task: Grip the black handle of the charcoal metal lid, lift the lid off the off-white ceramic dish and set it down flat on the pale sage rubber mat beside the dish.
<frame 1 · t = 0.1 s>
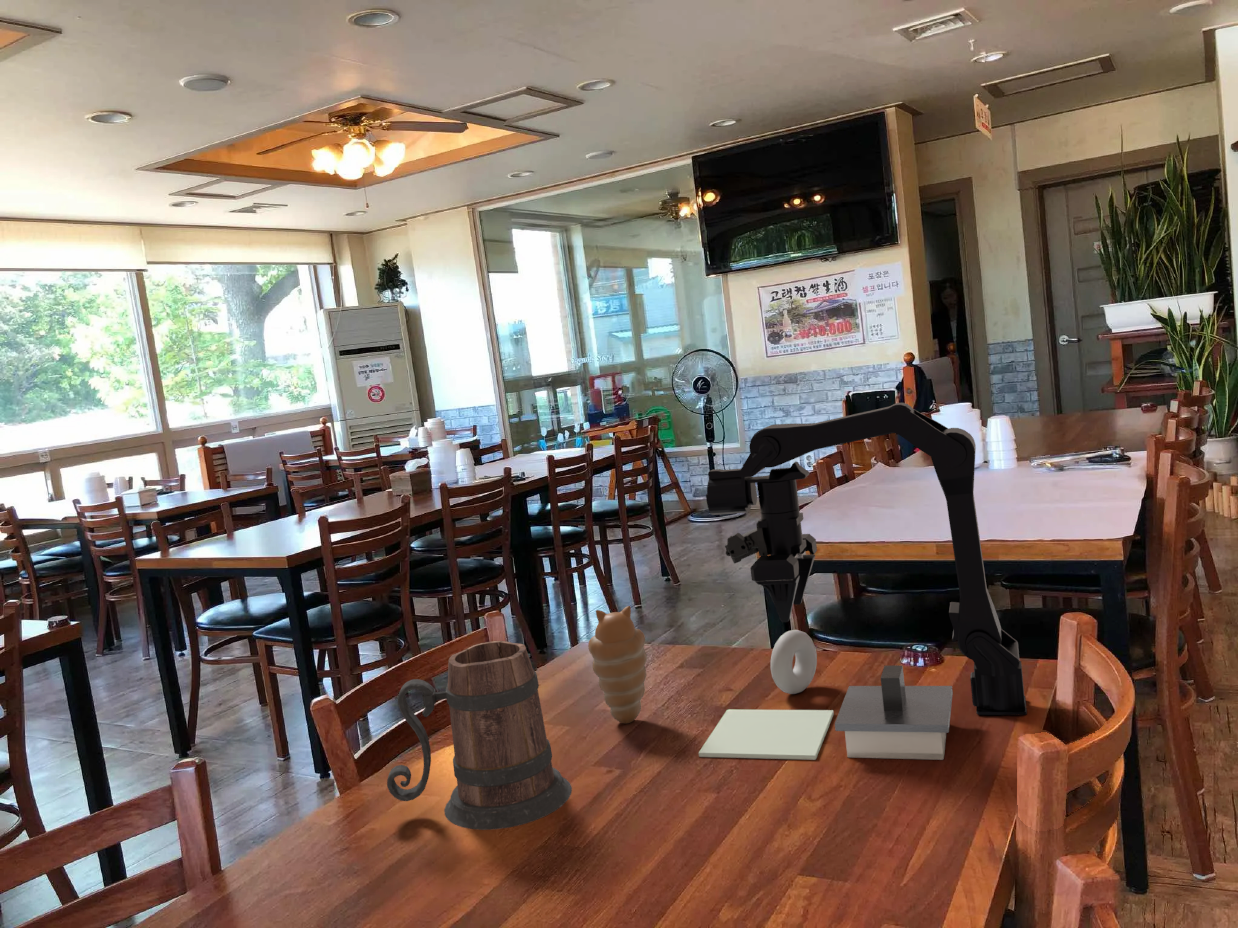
hand: (791, 612, 148), 15 cm above the table, tool pointing down, fingers open, 9 cm apart
dish: (898, 739, 133), on the table
lid: (895, 711, 132), point 4 cm above the table, touching dish
tankard: (483, 804, 130), on the table
mat: (768, 734, 140), on the table
cat ice cream: (627, 723, 152), on the table
donut: (797, 693, 156), on the table
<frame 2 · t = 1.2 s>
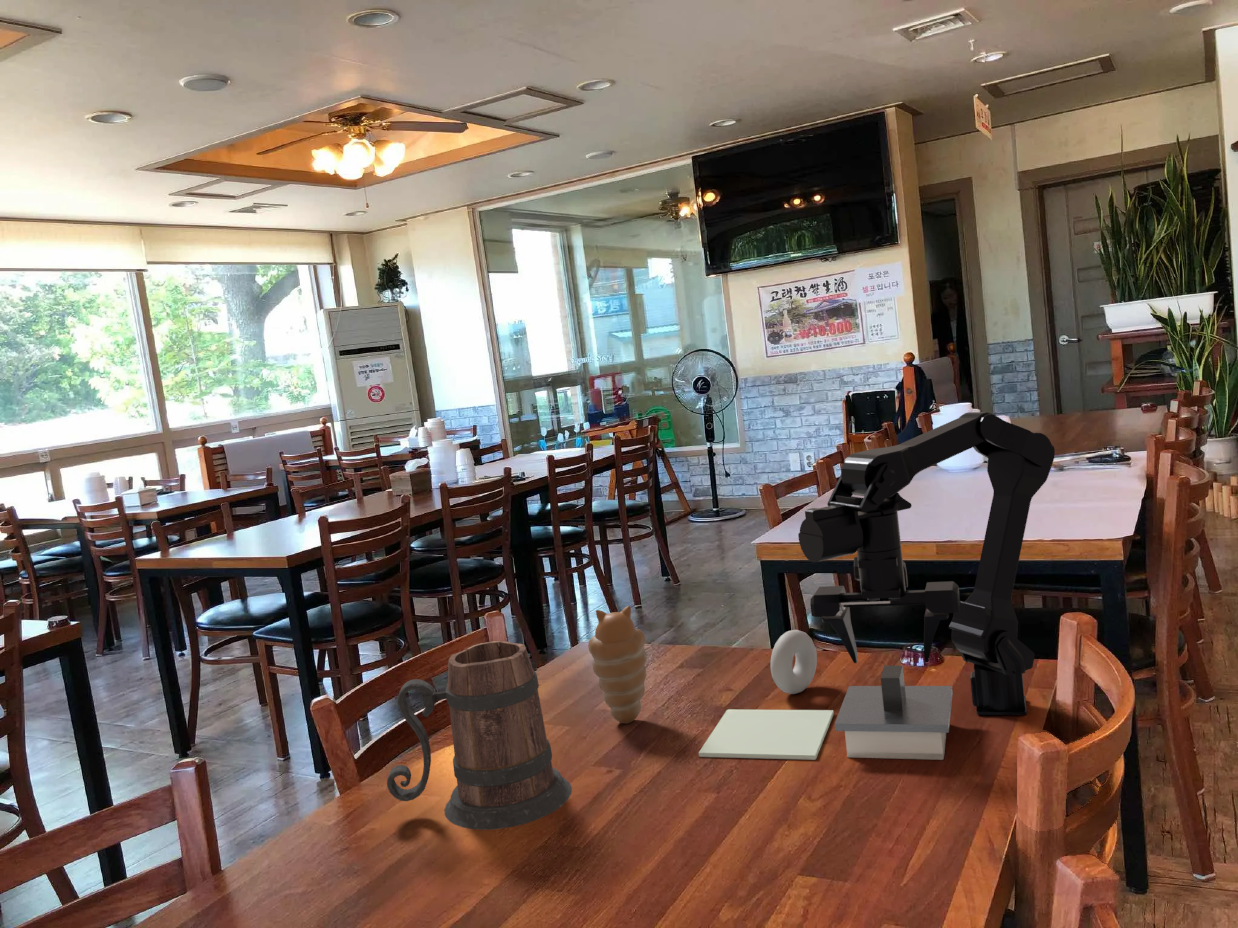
hand: (890, 661, 132), 11 cm above the table, tool pointing down, fingers open, 9 cm apart
nothing on the table moved.
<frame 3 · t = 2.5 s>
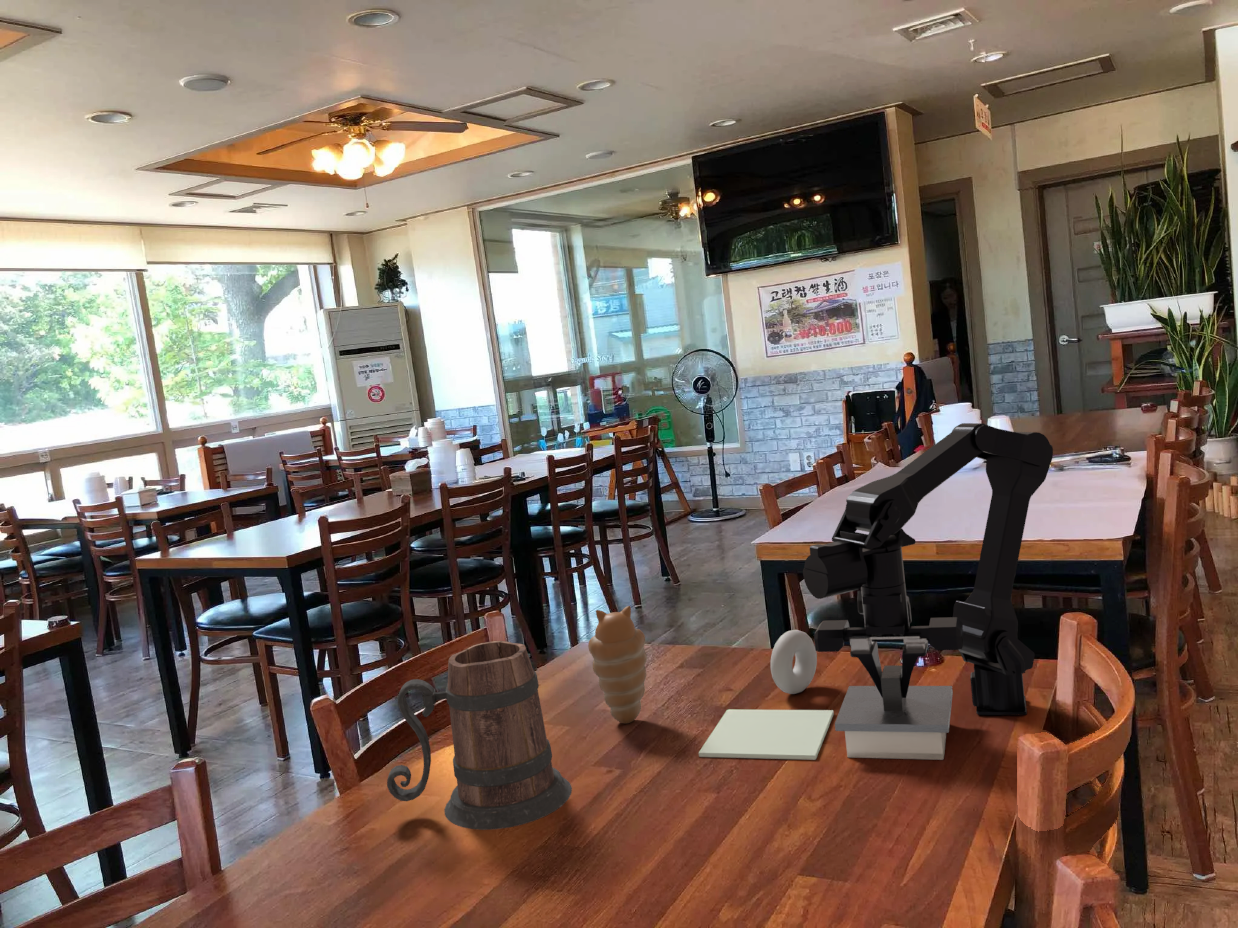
hand: (894, 696, 132), 6 cm above the table, tool pointing down, fingers closed on lid, 2 cm apart
lid: (895, 711, 132), point 4 cm above the table, touching dish, gripper
everything else where it was.
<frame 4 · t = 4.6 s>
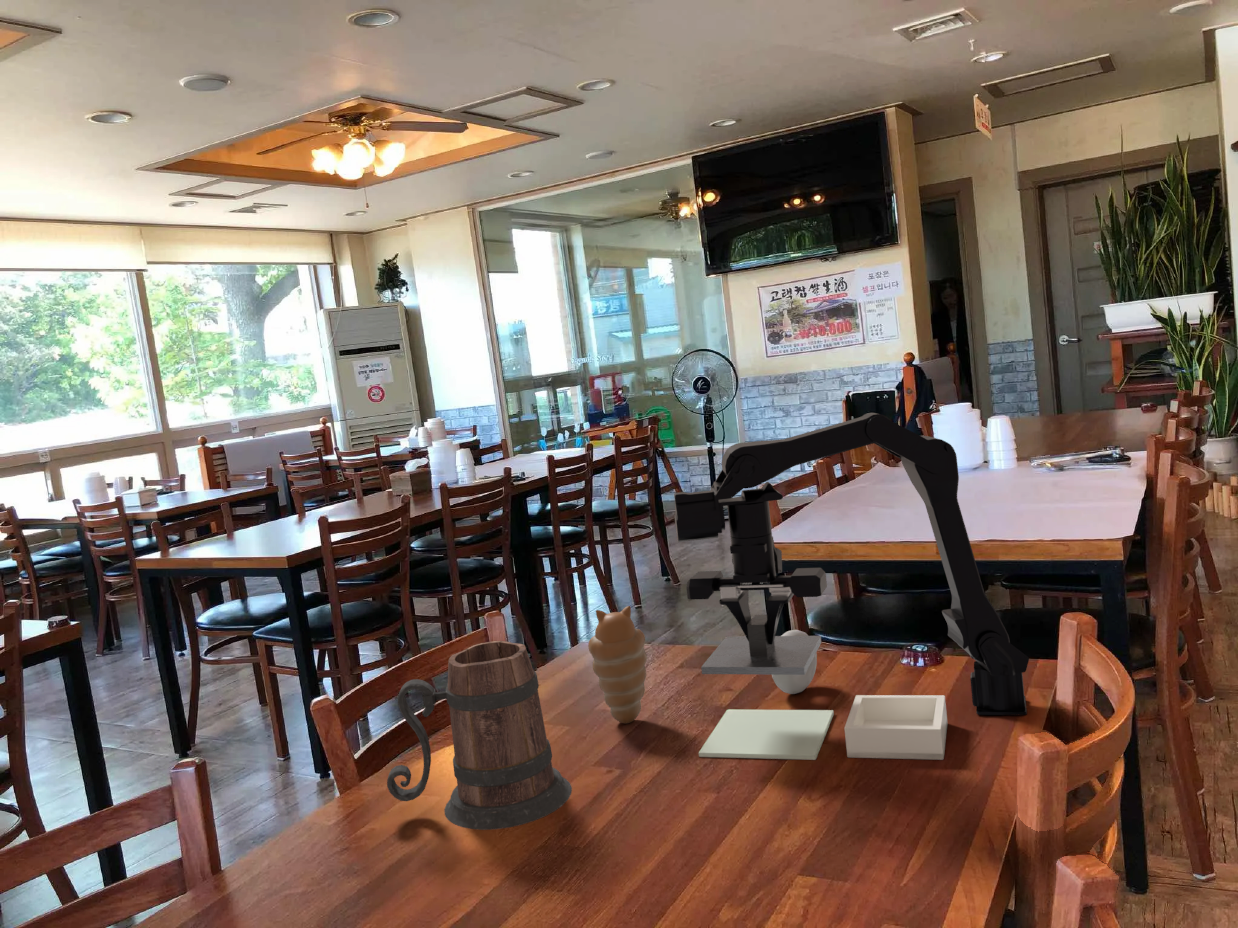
hand: (761, 643, 138), 13 cm above the table, tool pointing down, fingers closed on lid, 2 cm apart
lid: (763, 657, 139), point 11 cm above the table, touching gripper
everything else where it was.
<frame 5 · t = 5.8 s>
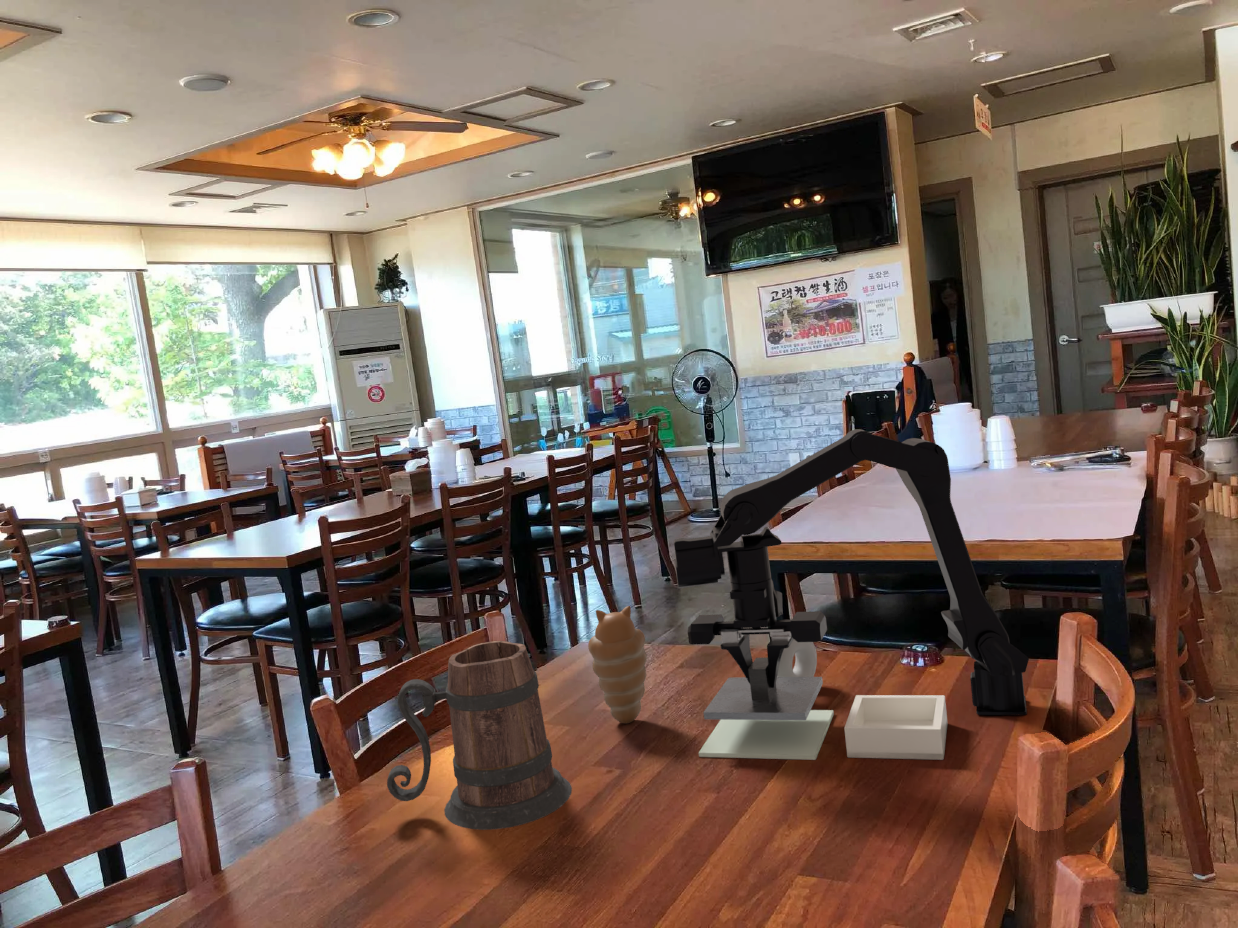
hand: (763, 686, 140), 7 cm above the table, tool pointing down, fingers closed on lid, 2 cm apart
lid: (765, 700, 140), point 5 cm above the table, touching gripper
everything else where it was.
when the fingers open (4 cm above the table, at t = 6.9 s): lid drops 2 cm, resting on mat.
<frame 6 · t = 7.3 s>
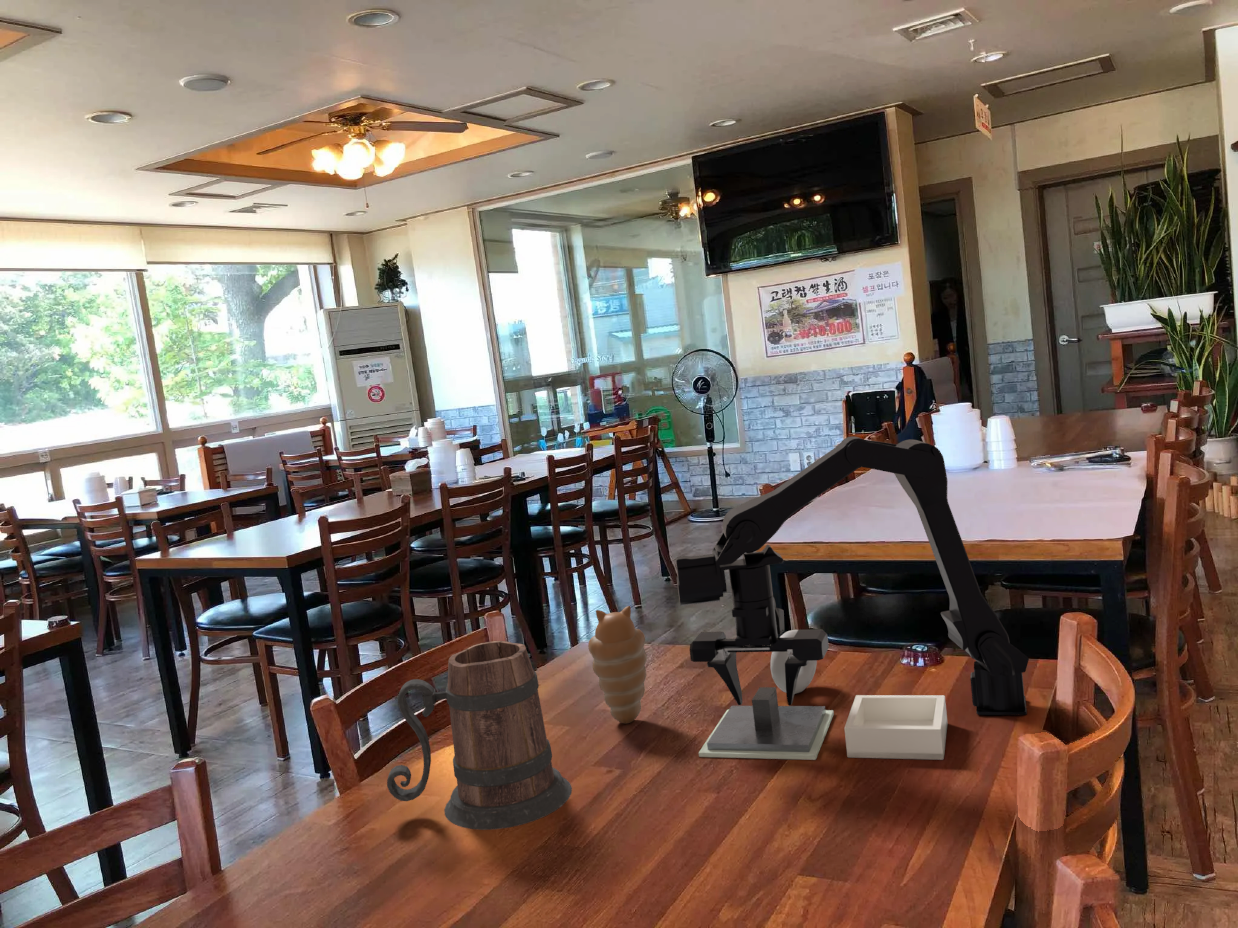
hand: (765, 704, 140), 4 cm above the table, tool pointing down, fingers open, 7 cm apart
lid: (768, 730, 140), point 1 cm above the table, touching mat
everything else where it was.
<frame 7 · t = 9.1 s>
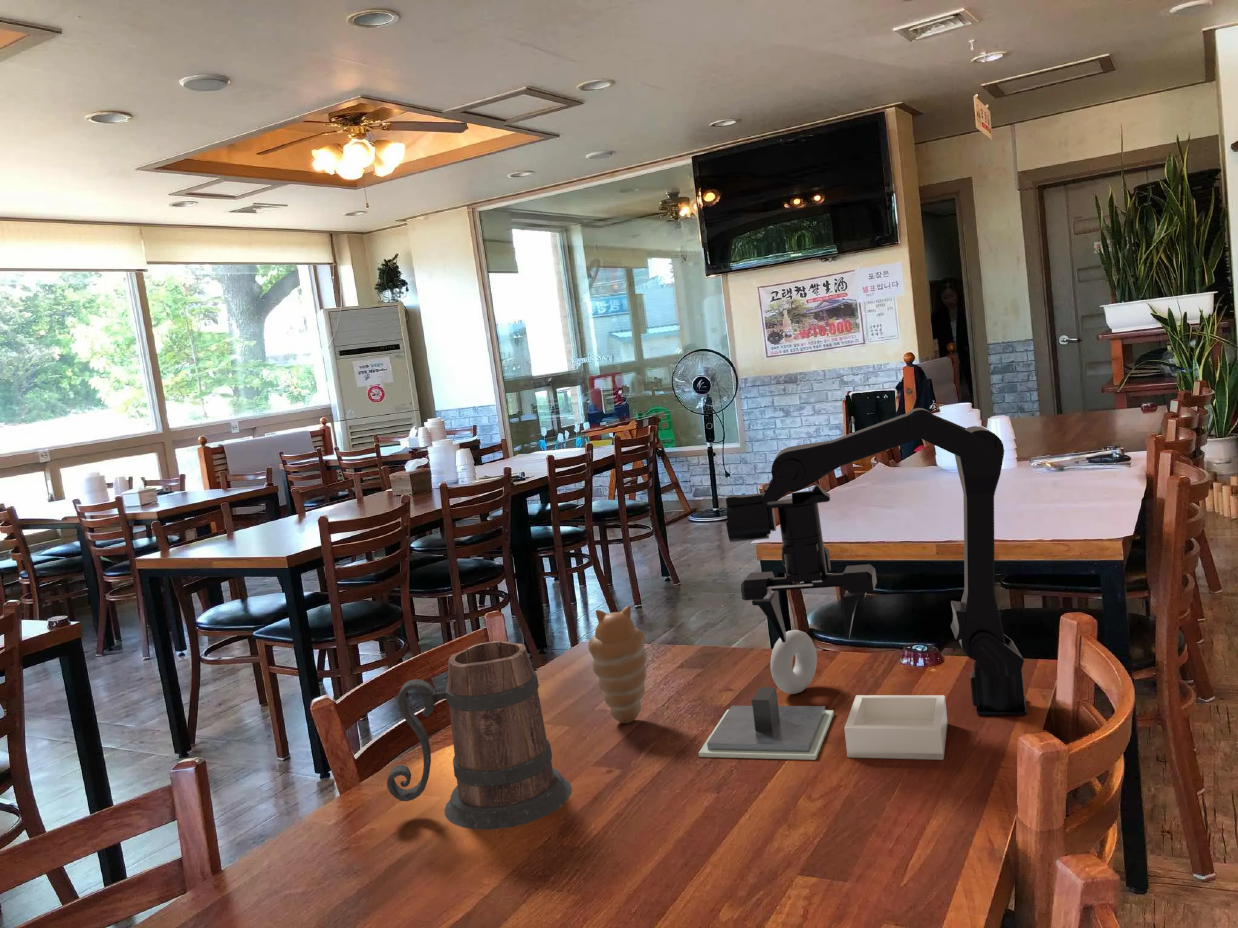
hand: (816, 639, 143), 11 cm above the table, tool pointing down, fingers open, 9 cm apart
nothing on the table moved.
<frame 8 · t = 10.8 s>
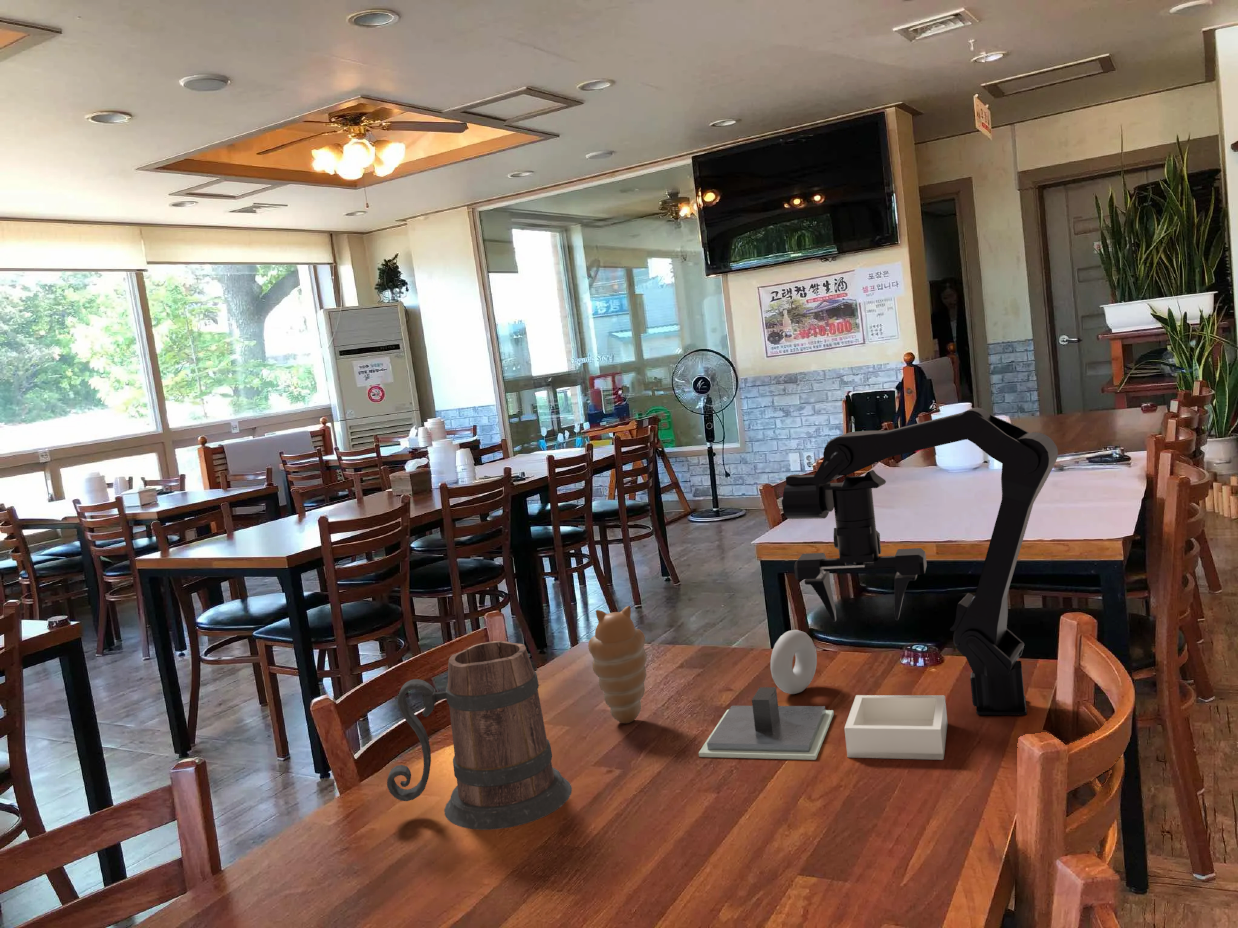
hand: (865, 619, 148), 12 cm above the table, tool pointing down, fingers open, 9 cm apart
nothing on the table moved.
at the end: lid inside the target area on the mat (0.1 cm from its centre), point 0.6 cm above the mat's base; lid tilted 0°; the gripper is holding nothing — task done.
